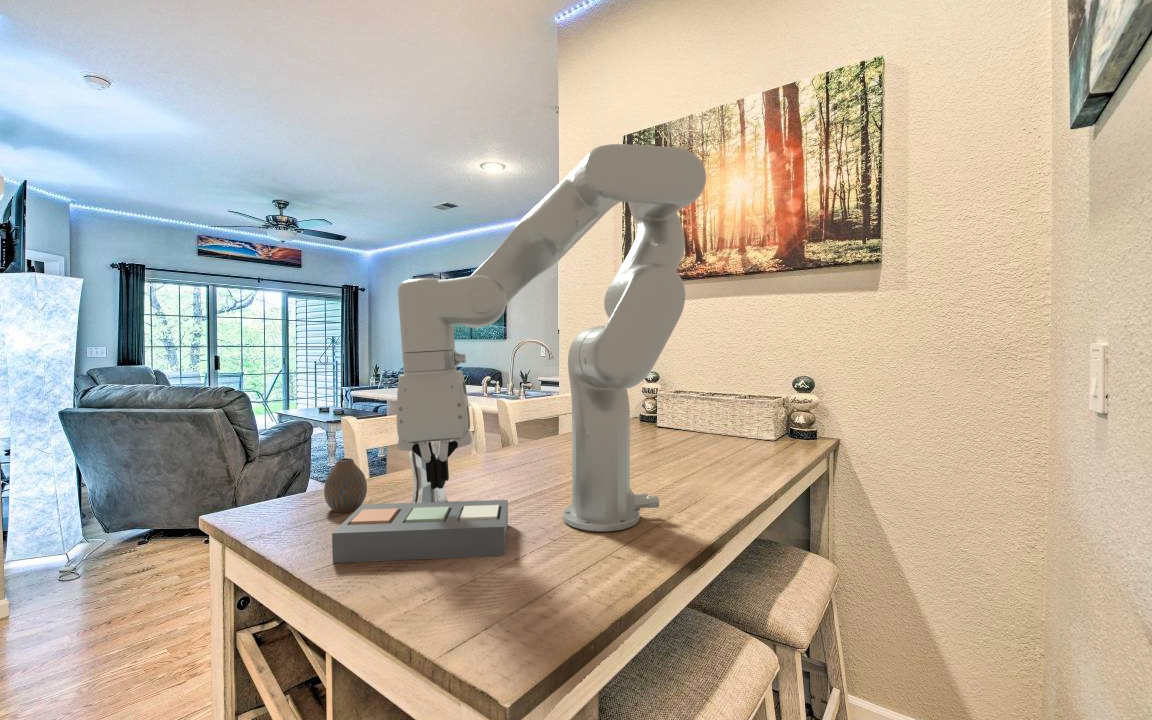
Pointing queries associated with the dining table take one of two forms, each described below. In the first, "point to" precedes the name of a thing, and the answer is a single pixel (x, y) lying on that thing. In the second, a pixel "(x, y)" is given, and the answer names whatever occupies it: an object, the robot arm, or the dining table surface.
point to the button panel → (421, 535)
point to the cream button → (480, 513)
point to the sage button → (428, 514)
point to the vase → (345, 486)
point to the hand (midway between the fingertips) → (438, 485)
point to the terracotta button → (375, 516)
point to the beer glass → (425, 479)
